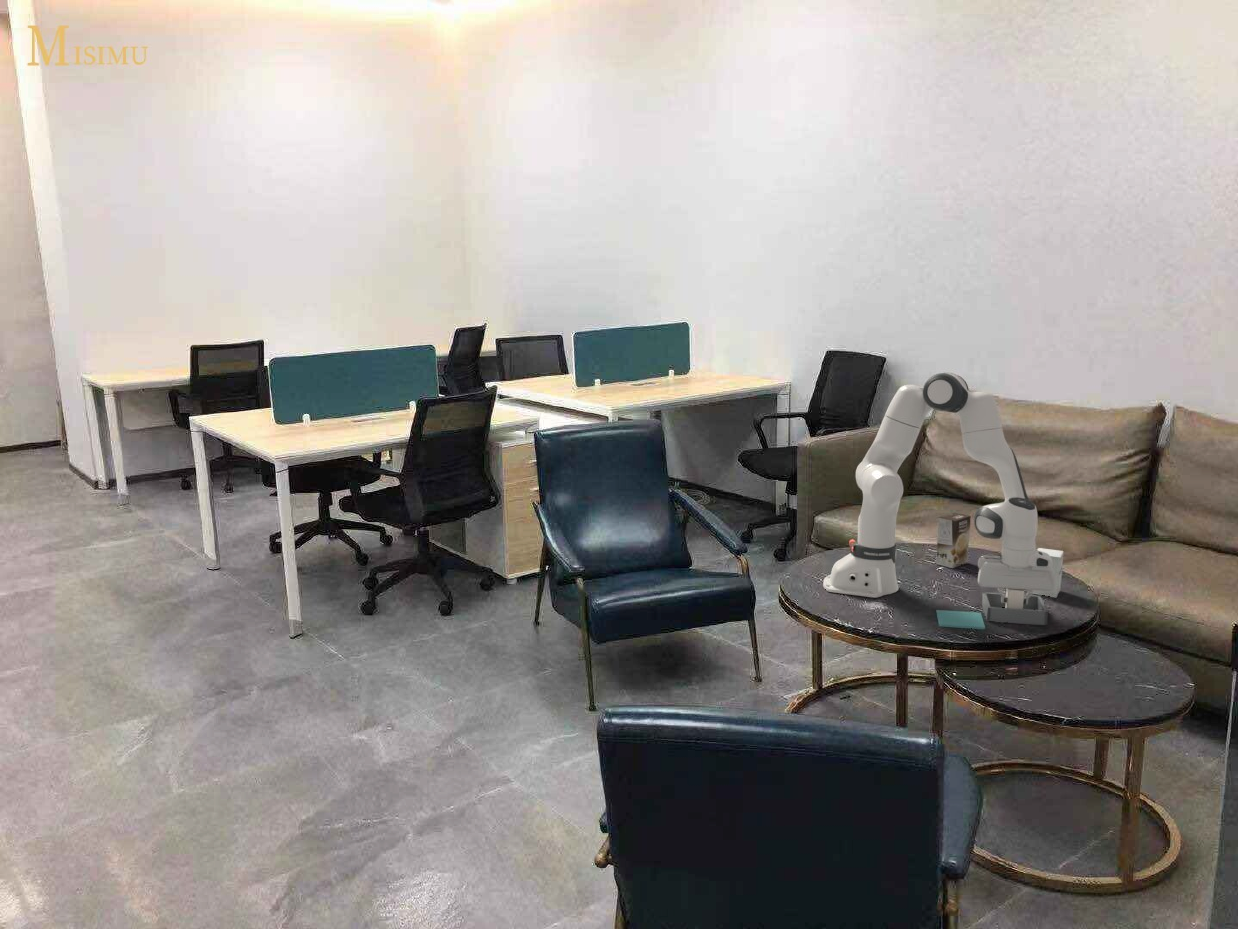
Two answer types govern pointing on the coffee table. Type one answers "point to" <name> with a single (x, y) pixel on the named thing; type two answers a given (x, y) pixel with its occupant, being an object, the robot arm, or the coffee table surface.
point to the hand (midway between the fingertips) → (1014, 603)
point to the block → (1015, 598)
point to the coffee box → (953, 540)
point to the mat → (960, 619)
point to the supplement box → (1057, 567)
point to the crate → (1014, 610)
